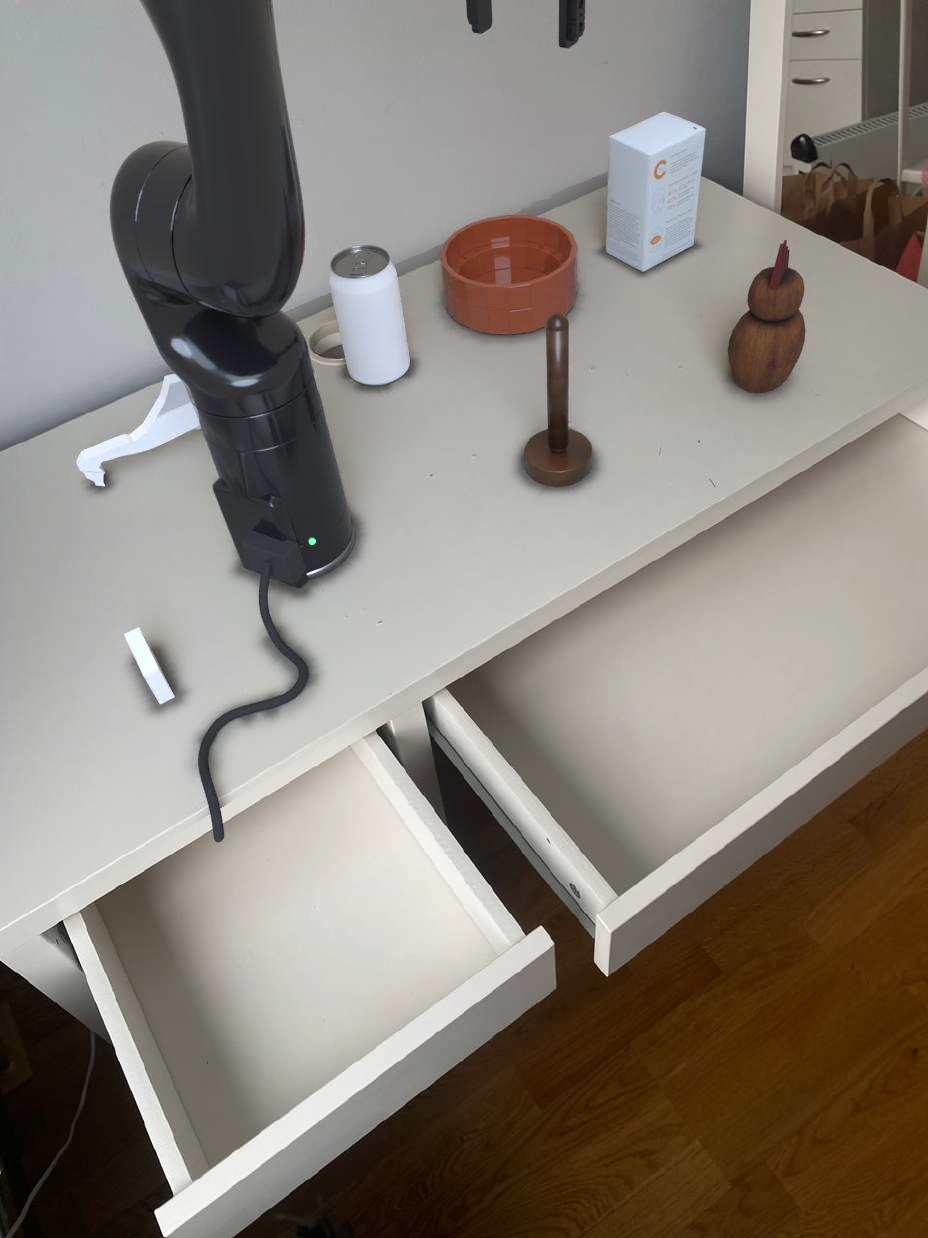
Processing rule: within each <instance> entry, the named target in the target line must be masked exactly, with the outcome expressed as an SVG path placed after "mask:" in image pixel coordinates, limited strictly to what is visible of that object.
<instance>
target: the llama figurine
mask: <svg viewBox="0 0 928 1238" xmlns="http://www.w3.org/2000/svg"><path fill="white" fill-rule="evenodd" d="M192 430H201V427H200V424H199V421H198V419H197V416H196V413H195V411H194V408H193V405H192V403H191V400H190V398H189V395H188V393H187V390H186V388H185V385H184V384H183V382H182V381H181V380H180V379H179V377H178V376H177V375H176V374H175V373H171V374H167V375H164V378H163V381H162V386H161V389H160V393H159V396H158V397H157V399H156V400H155V402H154V404H153V406H152V407H151V409H150V411H149V413H148V414H147V415H146V417H145V419H144V421H143V423H142V424H140V425H139V426H138V427H136V428H135V429H133V430H132V431H131V432H130V433H123V434H120V435H117V436H115V437H113V438H109V439H108V440H105V441H102V442H100V443H98V444H95V445H93V446H90V447H88V448H85V449H83V450H81V451H80V453H79V454H78V457H77V459H76V462H75V464H76V466H77V468H78V469H79V472H80V473H81V472H82V473H83V474H84V477H86V479H88V480H90V481H92V482H93V483H94V484H95V486H96V487H97V486H98V487H106V484H105V482H104V476H105V474H106V471H105V469H104V467H103V466H102V463H103V462H107V461H111V460H114V459H117V458H119V457H124V456H131V455H135V454H139V453H142V452H143V453H144V452H146V451H150V450H152V449H155V448H157V447H160V446H161V445H163V444H166V443H167V442H170V441H172V440H174V439H176V438H178V437H180V436H182V435H183V434H186V433H188V432H190V431H192Z"/></svg>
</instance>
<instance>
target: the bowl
mask: <svg viewBox="0 0 928 1238" xmlns="http://www.w3.org/2000/svg"><path fill="white" fill-rule="evenodd" d="M578 249H579V248H578V243H577V241H576V237H575V235H574V234H573V232H571V231H570V230H569V229H568V228H566V227H565V226H564V225H563V224H561V223H558V222H556V221H554V220H551V219H549V218H547V217H546V218H545V217H540V216H534V215H528V214H506V215H498V216H490V217H486V218H483V219H480V220H476V221H474V222H471V223H468V224H467V225H464V226H462V227H461V228H458V229H457V230H456V231H453V233H452V234H451V235H450V236H449V237H448V238H446V240H445V241H444V242H443V245H442V246H441V250H440V252H439V259H440V260H439V261H440V269H441V277H442V278H441V279H442V288H443V296H444V303H445V308H446V311H447V312H448V313H449V314H450V316H451V318H453V319H454V320H455V321H456V322H458V323H459V324H461V325H463V326H464V327H466V328H468V329H471V330H474V331H477V332H478V331H479V332H483V333H486V334H495V335H496V334H497V335H498V334H499V335H514V334H522V333H529V332H533V331H536V330H538V329H539V330H540V329H542V328H544V327H545V328H546V322H547V319H548V318H549V317H550V316H551V315H552V314H554V313H561V314H563V315H565V316H566V315H567V314H568V313H569V311H570V310H571V309H572V307H573V306H574V305H575V304H576V300H577V294H578Z"/></svg>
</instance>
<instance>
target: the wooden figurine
mask: <svg viewBox="0 0 928 1238" xmlns="http://www.w3.org/2000/svg"><path fill="white" fill-rule="evenodd" d="M787 243H788V240H787V239H784V240H783V242H782V243H780V244H779V248H778V251H777V255H776V258H775V263H774V266H769V267H766V268H763V269H761V270H760V271H759V272H758V273H757V274H756V276H754V278H753V280H752V282H751V283H750V286H749V289H748V291H747V292H748V293H747V298H746V302H747V306H748V310H747V311H746V312H745V313H744V314H742V316H740V318H739V320H738V321H737V322H736V324H735V326H734V327H733V329H732V331H731V334H730V336H729V339H728V345H727V359H728V363H729V368H730V372H731V375H732V378H733V381H734V382H735V383H736V384H737V385H738V386H739V387H740V388H742V389H743V390H745V391H747V392H750V393H754V394H755V393H756V394H757V393H759V394H760V393H767V392H770V391H771V392H772V391H773V390H776V389H777V388H779V387H780V386H782V385H783V384H784V383H785V382H786V381H787V380H788V378H789V377H790V375H791V373H792V372H793V370H794V368H795V367H796V364H797V363H798V361H799V358H800V356H801V354H802V352H803V349H804V345H805V342H806V341H805V340H806V332H807V331H806V323H805V319H804V315H803V313H802V312H801V310H800V308H801V306H802V302H803V299H804V297H805V296H804V295H805V282H804V278H803V276H802V275H801V274H800V273H799V272H798V271H797V270H796V269H793V268H791V267H790V266H789V260H790V251H791V250H790V249H789V246H788V245H787Z"/></svg>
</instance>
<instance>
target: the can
mask: <svg viewBox="0 0 928 1238" xmlns="http://www.w3.org/2000/svg"><path fill="white" fill-rule="evenodd" d="M329 267H330V273H329V278H328V282H329V288H330V289H329V290H330V295H331V299H332V303H333V308H334V312H335V313H334V314H335V317H336V321H337V327H338V331H339V336H340V340H341V346H342V350H343V354H344V359H345V363H346V368H347V372H348V374H349V376H350V377H351V378H352V379H353V380H355V382H357V383H359V384H361V385H364V386H369V387H380V386H385V385H386V386H387V385H390V384H392V383H394V382H397V381H398V380H400V379H401V378H402V377H403V376H404V375H405V374H406V372H407V371H408V370H409V368H410V365H411V357H410V352H409V344H408V343H409V342H408V336H407V331H406V330H407V329H406V324H405V317H404V309H403V305H402V304H403V303H402V298H401V292H400V285H399V278H398V272H397V269H396V267H395V265H394V264H393V262H392V261H391V256H390V254H389V252H388V251H387V250H386V249H385V248H382V247H381V246H377V245H372V244H370V245H369V244H361V245H355V246H354V245H353V246H351V247H347V248H345V249H342V250H341V251H339V252H337V253H336V254H335V255H334V256H333V257H332V258H331V260H330V263H329Z"/></svg>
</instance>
